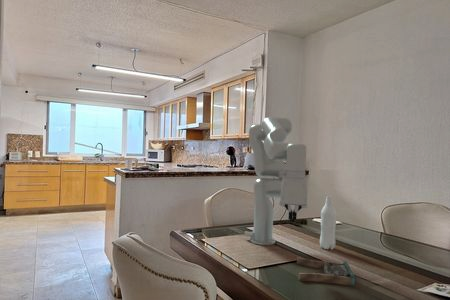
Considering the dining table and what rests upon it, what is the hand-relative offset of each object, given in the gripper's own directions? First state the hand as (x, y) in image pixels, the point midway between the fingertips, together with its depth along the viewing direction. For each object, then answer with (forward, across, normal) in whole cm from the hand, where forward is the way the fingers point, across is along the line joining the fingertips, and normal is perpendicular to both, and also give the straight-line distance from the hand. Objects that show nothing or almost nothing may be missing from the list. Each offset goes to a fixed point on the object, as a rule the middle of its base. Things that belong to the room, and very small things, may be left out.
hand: (292, 221), depth 119 cm
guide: (+18, +12, -4) cm, 22 cm away
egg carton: (+18, +17, -4) cm, 25 cm away
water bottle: (+19, +18, +30) cm, 40 cm away
